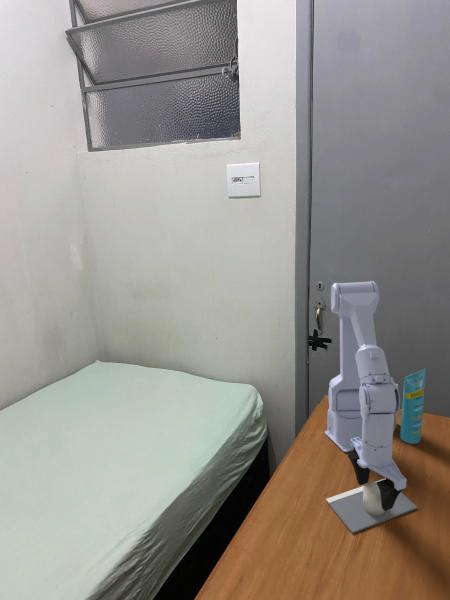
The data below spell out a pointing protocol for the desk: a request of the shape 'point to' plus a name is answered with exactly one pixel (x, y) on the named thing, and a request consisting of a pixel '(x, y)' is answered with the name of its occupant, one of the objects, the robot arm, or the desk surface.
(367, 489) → the white tapered cylinder
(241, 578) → the desk surface
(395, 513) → the gray book
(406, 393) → the tube
